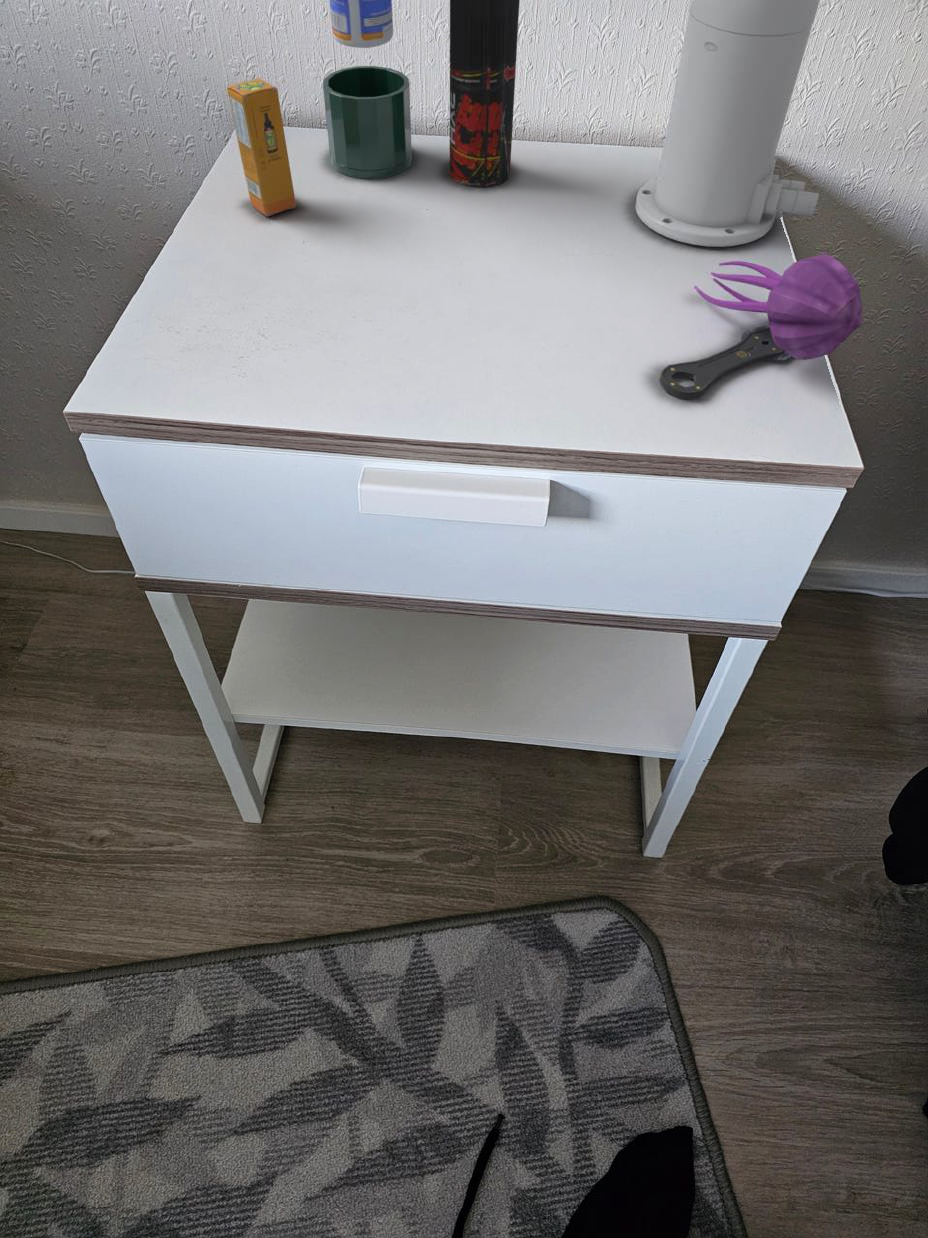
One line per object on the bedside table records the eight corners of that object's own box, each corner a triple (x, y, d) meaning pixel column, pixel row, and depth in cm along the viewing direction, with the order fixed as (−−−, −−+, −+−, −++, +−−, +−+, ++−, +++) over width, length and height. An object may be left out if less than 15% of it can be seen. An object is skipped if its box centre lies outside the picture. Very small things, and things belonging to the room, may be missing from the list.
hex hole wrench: (689, 401, 60) (687, 407, 60) (872, 316, 67) (869, 323, 67) (648, 369, 62) (646, 376, 62) (830, 291, 69) (827, 297, 70)
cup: (422, 149, 86) (421, 72, 80) (394, 184, 81) (390, 103, 75) (350, 138, 87) (343, 61, 82) (318, 171, 82) (308, 91, 77)
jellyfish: (724, 211, 66) (877, 244, 55) (749, 281, 71) (895, 324, 60) (661, 269, 67) (801, 313, 55) (690, 335, 71) (825, 388, 60)
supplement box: (279, 194, 79) (260, 74, 71) (297, 208, 78) (280, 87, 70) (247, 203, 78) (225, 82, 70) (265, 218, 76) (244, 96, 68)
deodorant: (437, 169, 83) (435, -15, 71) (485, 154, 85) (491, -27, 73) (473, 192, 80) (478, 4, 68) (522, 176, 82) (534, -9, 71)
